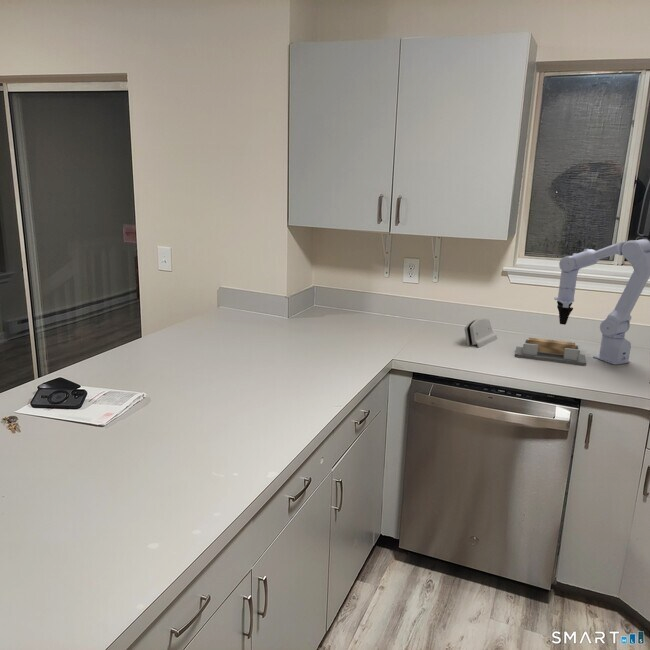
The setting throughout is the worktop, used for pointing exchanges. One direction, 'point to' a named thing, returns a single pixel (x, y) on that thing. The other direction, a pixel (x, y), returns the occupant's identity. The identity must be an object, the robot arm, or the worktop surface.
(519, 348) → the bracket board
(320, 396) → the worktop surface
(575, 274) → the robot arm
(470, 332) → the grey stand
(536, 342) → the rail
